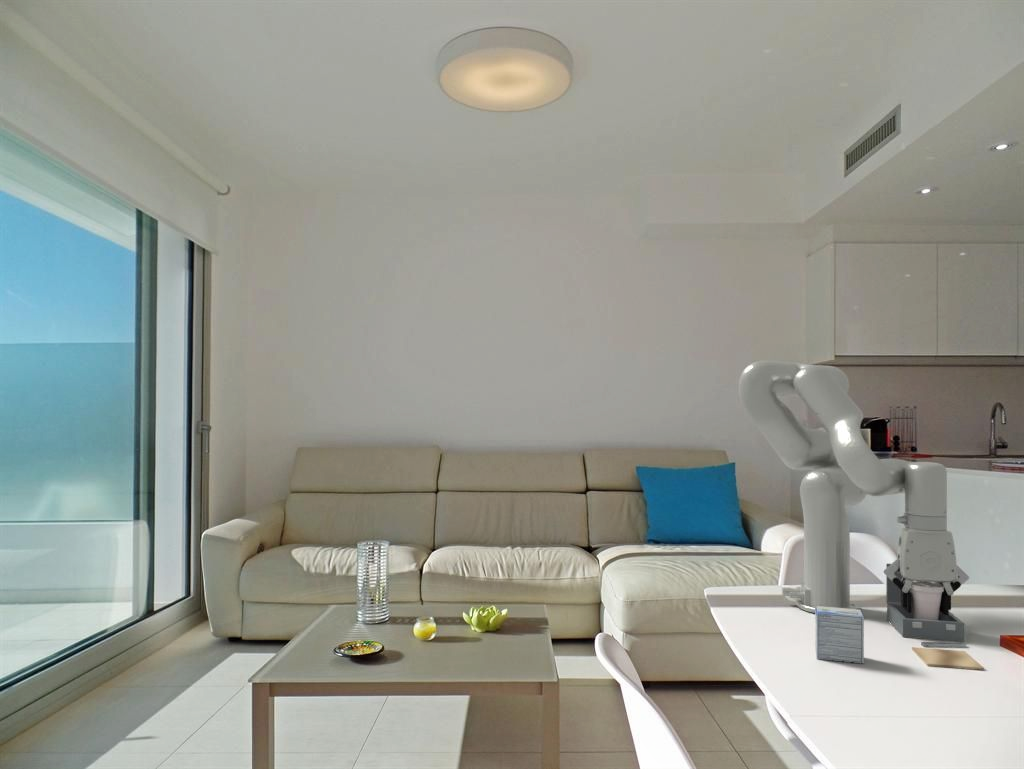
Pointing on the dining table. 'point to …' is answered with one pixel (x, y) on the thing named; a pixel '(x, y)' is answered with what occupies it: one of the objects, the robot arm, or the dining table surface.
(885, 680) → the dining table surface
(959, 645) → the rod
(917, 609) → the smoothie
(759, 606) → the dining table surface
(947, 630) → the case
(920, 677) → the dining table surface
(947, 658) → the pad
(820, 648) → the medicine box
